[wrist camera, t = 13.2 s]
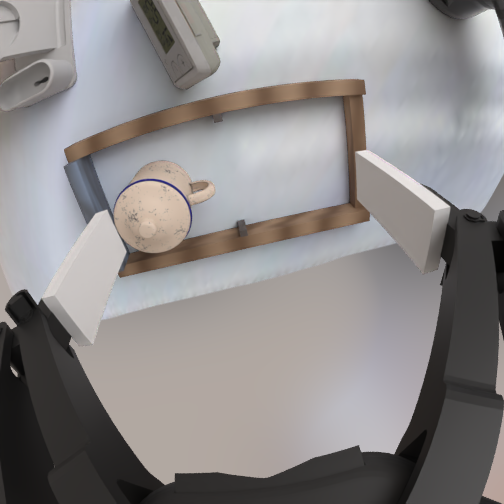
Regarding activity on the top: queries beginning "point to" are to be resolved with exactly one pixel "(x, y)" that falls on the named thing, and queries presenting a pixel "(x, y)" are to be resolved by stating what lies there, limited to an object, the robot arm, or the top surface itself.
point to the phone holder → (36, 50)
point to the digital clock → (180, 38)
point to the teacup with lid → (158, 206)
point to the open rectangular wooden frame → (244, 235)
